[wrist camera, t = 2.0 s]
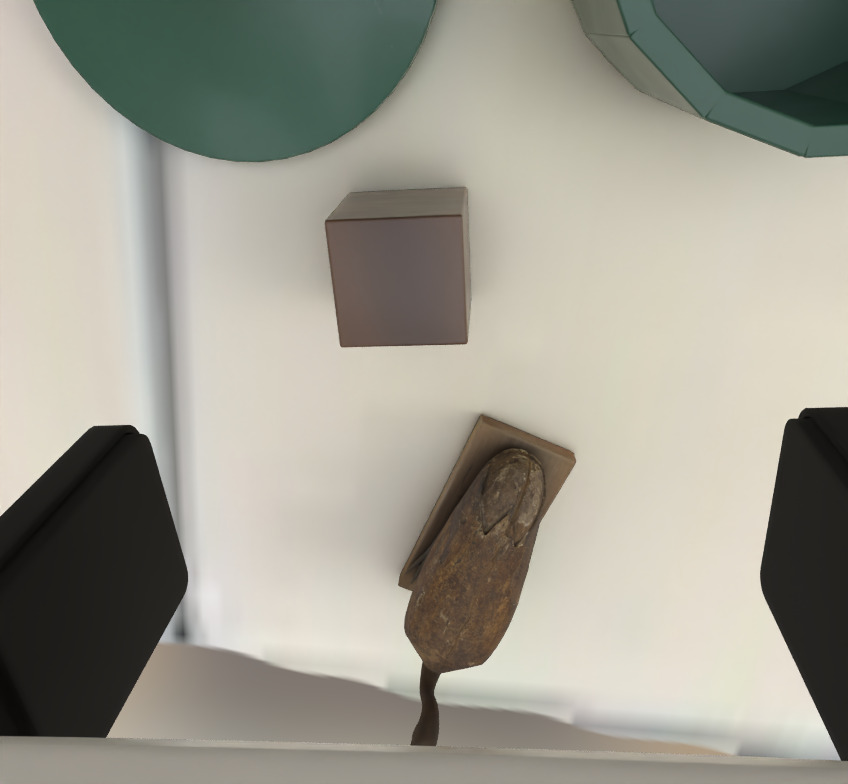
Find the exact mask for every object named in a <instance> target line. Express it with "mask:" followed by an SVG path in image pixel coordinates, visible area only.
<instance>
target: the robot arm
mask: <svg viewBox="0 0 848 784" xmlns="http://www.w3.org/2000/svg"><path fill="white" fill-rule="evenodd" d="M760 580H761V587H762V591H763V594H764V597H765V599H766V601H767V604H768V606H769V608H770V610H771V612H772V614H773V616H774V618H775V621H776V623H777V625H778V627H779V629H780V631H781V633H782V635H783V638H784V640H785V642H786V644H787V646H788V648H789V650H790V652H791V655H792V657H793V659H794V661H795V663H796V665H797V667H798V669H799V672H800V674H801V676H802V678H803V680H804V682H805V684H806V686H807V689H808V691H809V693H810V695H811V697H812V699H813V701H814V703H815V706H816V708H817V710H818V712H819V714H820V716H821V718H822V720H823V723H824V725H825V727H826V729H827V731H828V733H829V735H830V737H831V740H832V742H833V744H834V746H835V748H836V750H837V752H838V754H839V757H840V759H841V761H836V760H811V759H789V758H769V757H749V756H719V755H690V754H689V755H688V754H661V753H629V752H602V751H573V750H543V749H513V748H512V749H511V748H478V747H444V746H411V745H410V746H409V745H375V744H339V743H302V742H266V741H222V740H221V741H220V740H178V739H175V740H174V739H173V740H172V739H133V738H129V739H128V738H106V737H107V735H108V733H109V731H110V729H111V727H112V726H113V724H114V722H115V720H116V718H117V716H118V715H119V713H120V711H121V709H122V707H123V706H124V703H125V702H126V700H127V698H128V696H129V694H130V693H131V691H132V689H133V687H134V685H135V684H136V682H137V680H138V678H139V676H140V675H141V673H142V671H143V669H144V667H145V666H146V664H147V662H148V660H149V658H150V656H151V655H152V653H153V651H154V649H155V647H156V645H157V644H158V642H159V640H160V638H161V636H162V635H163V633H164V631H165V629H166V627H167V625H168V624H169V622H170V620H171V618H172V616H173V615H174V613H175V611H176V609H177V607H178V605H179V604H180V602H181V600H182V598H183V596H184V594H185V592H186V589H187V584H188V571H187V567H186V563H185V560H184V556H183V553H182V549H181V546H180V543H179V539H178V536H177V532H176V529H175V525H174V522H173V518H172V515H171V512H170V508H169V505H168V501H167V498H166V494H165V491H164V487H163V484H162V481H161V477H160V474H159V470H158V467H157V463H156V460H155V456H154V453H153V449H152V446H151V443H150V441H149V439H148V437H147V436H146V435H144V434H139V432H138V430H137V429H136V428H135V427H133V426H132V425H113V426H93V427H92V428H90V429H89V430H88V431H87V432H85V433H84V434H83V435H82V436H81V437H80V438H79V439H78V440H77V441H76V442H75V443H74V444H73V445H72V446H71V447H70V448H69V449H68V450H67V451H66V452H65V453H64V454H63V455H62V456H61V457H60V458H59V459H58V460H57V461H56V462H55V463H54V464H53V465H52V466H51V467H50V468H49V469H48V470H47V471H46V472H45V473H44V474H43V475H42V476H41V477H40V478H39V479H38V480H37V481H36V482H35V483H34V484H33V485H32V486H31V487H30V488H29V489H28V490H27V491H26V492H25V493H24V494H23V495H22V496H21V497H20V498H19V499H18V500H17V501H16V502H15V503H14V504H13V505H12V506H11V507H10V508H9V509H8V510H6V511H5V512H4V513H3V514H2V515H1V516H0V784H848V407H835V408H805V409H804V410H802V411H801V413H800V415H799V418H798V419H790V420H788V421H787V423H786V425H785V429H784V435H783V440H782V446H781V452H780V458H779V464H778V470H777V476H776V482H775V487H774V493H773V499H772V505H771V511H770V517H769V523H768V528H767V534H766V540H765V546H764V552H763V558H762V564H761V571H760Z"/></svg>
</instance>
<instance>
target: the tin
mask: <svg viewBox="0 0 848 784" xmlns="http://www.w3.org/2000/svg"><path fill="white" fill-rule="evenodd" d="M571 1H572V3H573V5H574V8H575V10H576V12H577V15H578V17H579V20H580V23H581V25H582V28H583V31H584V32H585V35H586V36H587V37H588V38H589V39H590V40H591V41H592V43H593V44H594V45H595V46H596V47H597V48H598V49H599V50H600V51H601V53H602V54H603V55H604V56H605V57H606V59H607V60H608V61H609V62H610V63H611V64H612V65H613V66H614V67H615V68H616V69H617V70H618V71H620V72H621V73H622V75H623V76H624V77H625V78H626V79H627V80H628V81H629V82H630V83H631V84H632V85H633V86H634V87H635V88H636V89H637V90H639V91H641V92H643V93H645V94H647V95H650V96H652V97H654V98H656V99H659V100H661V101H663V102H666V103H668V104H670V105H672V106H675V107H677V108H679V109H681V110H684V111H686V112H688V113H690V114H693V115H695V116H697V117H699V118H702V119H704V120H706V121H709V122H711V123H714V124H717V125H719V126H722V127H724V128H727V129H730V130H732V131H735V132H737V133H740V134H743V135H745V136H748V137H750V138H753V139H755V140H758V141H761V142H763V143H766V144H768V145H771V146H774V147H776V148H779V149H781V150H784V151H786V152H789V153H792V154H794V155H797V156H802V157H805V158H812V157H832V156H848V0H571Z"/></svg>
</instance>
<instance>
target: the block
mask: <svg viewBox="0 0 848 784" xmlns="http://www.w3.org/2000/svg"><path fill="white" fill-rule="evenodd" d="M325 230H326V238H327V246H328V254H329V262H330V270H331V277H332V285H333V293H334V301H335V309H336V317H337V325H338V333H339V341H340V346H341V347H372V346H413V345H454V344H467V342H468V332H469V320H470V308H471V279H470V251H469V223H468V195H467V188H466V187H455V188H434V189H413V190H393V191H372V192H351V193H349V194H348V195H347V196H346V197H345V199H344V200H343V201H342V202H341V203H340V204H339V205H338V207H337V208H336V209H335V210H334V211H333V212H332V214H331V215H330V216H329V217H328V218H327V219H326V220H325Z"/></svg>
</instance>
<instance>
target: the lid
mask: <svg viewBox="0 0 848 784" xmlns="http://www.w3.org/2000/svg"><path fill="white" fill-rule="evenodd" d="M33 1H34V3H35V5H36V7H37V10H38V12H39V14H40V15H41V17H42V19H43V21H44V23H45V24H46V26H47V28H48V30H49V31H50V33H51V35H52V37H53V38H54V40H55V42H56V43H57V44H58V46H59V47H60V49H61V50H62V51H63V53H64V54H65V56H66V57H67V59H68V60H69V61H70V63H71V64H72V66H73V67H74V68H75V69H76V70H77V71H78V73H79V74H80V75H81V76H82V77H83V78H84V79H85V81H86V82H87V83H88V84H89V85H90V86H91V88H92V89H93V90H94V91H96V92H97V93H98V94H99V95H100V96H101V97H102V98H103V99H104V100H105V101H106V102H107V103H108V104H110V105H111V106H112V107H113V108H114V109H115V110H116V111H118V112H119V113H120V114H122V115H123V116H124V117H126V118H127V119H128V120H130V121H131V122H132V123H134V124H135V125H136V126H138V127H140V128H141V129H143V130H145V131H147V132H148V133H150V134H152V135H153V136H155V137H157V138H159V139H160V140H162V141H165V142H167V143H169V144H172V145H174V146H176V147H179V148H181V149H183V150H186V151H189V152H192V153H196V154H199V155H203V156H206V157H210V158H215V159H222V160H228V161H235V162H264V161H272V160H280V159H287V158H290V157H294V156H297V155H301V154H305V153H308V152H311V151H313V150H316V149H318V148H320V147H322V146H325V145H327V144H329V143H332V142H333V141H335V140H337V139H338V138H340V137H341V136H343V135H345V134H346V133H348V132H349V131H351V130H353V129H354V128H356V127H357V126H358V125H359V124H360V123H362V122H363V121H364V120H365V119H366V118H368V117H369V116H370V115H371V114H372V113H374V112H375V111H376V110H377V109H378V108H379V107H380V106H381V104H382V103H383V102H384V101H385V100H386V99H387V98H388V97H389V96H390V95H391V93H392V92H393V91H394V90H395V89H396V87H397V86H398V84H399V83H400V81H401V80H402V79H403V77H404V76H405V74H406V73H407V71H408V70H409V68H410V67H411V65H412V63H413V61H414V59H415V57H416V55H417V53H418V51H419V49H420V48H421V46H422V44H423V42H424V39H425V37H426V34H427V31H428V29H429V26H430V23H431V21H432V18H433V15H434V12H435V8H436V4H437V0H33Z"/></svg>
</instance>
